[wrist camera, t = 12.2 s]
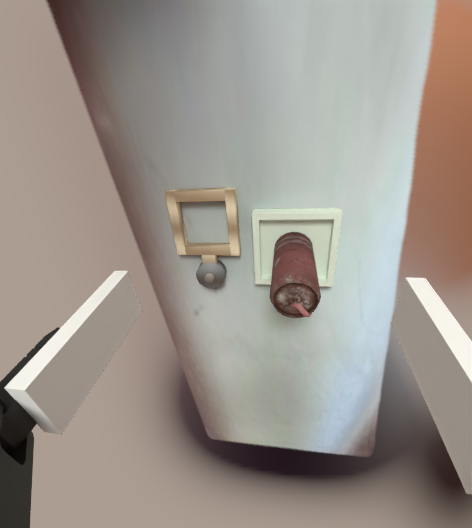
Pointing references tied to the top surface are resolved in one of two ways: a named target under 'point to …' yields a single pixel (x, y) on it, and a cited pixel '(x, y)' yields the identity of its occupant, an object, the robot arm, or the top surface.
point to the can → (294, 276)
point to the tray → (306, 222)
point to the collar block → (211, 267)
